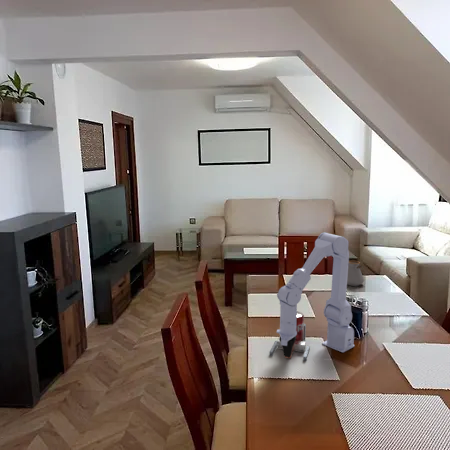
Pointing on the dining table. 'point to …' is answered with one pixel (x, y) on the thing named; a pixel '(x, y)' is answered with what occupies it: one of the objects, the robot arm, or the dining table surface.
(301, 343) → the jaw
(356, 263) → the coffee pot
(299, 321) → the soda can
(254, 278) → the dining table surface
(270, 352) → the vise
